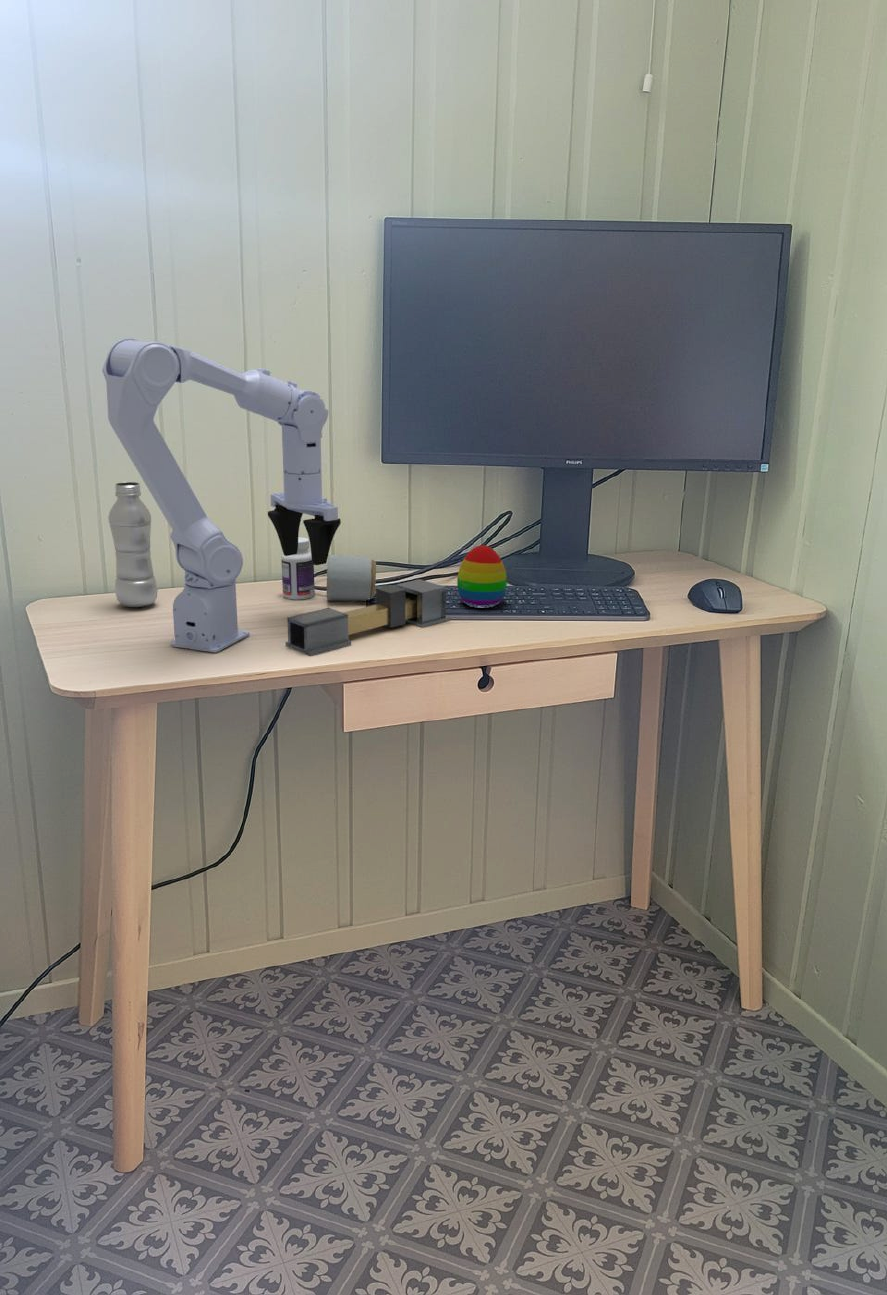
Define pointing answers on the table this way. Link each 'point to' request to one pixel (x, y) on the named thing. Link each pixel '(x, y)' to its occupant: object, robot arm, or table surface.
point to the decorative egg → (482, 577)
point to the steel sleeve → (318, 631)
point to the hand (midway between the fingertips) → (304, 559)
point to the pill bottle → (298, 573)
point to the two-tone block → (383, 610)
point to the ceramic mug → (350, 578)
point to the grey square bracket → (426, 602)
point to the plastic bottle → (132, 547)
